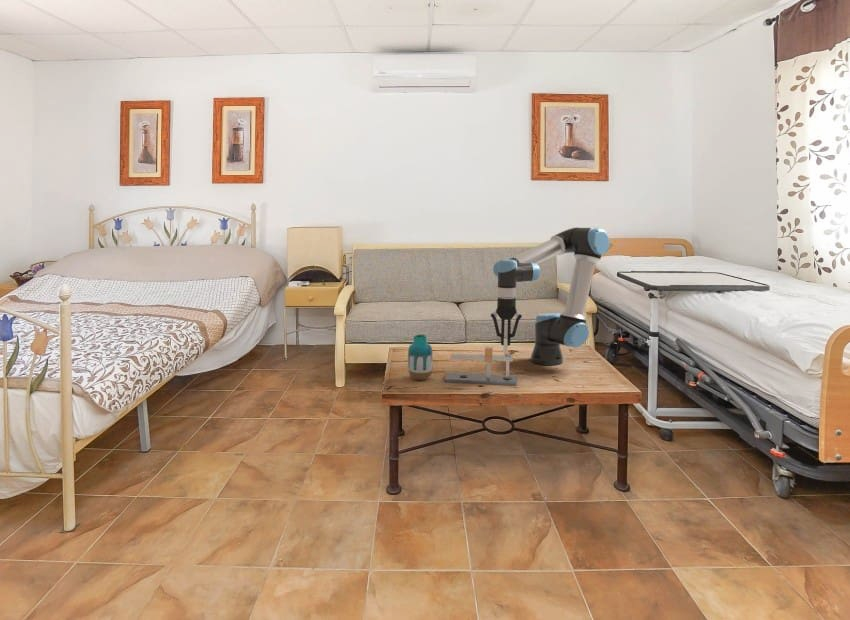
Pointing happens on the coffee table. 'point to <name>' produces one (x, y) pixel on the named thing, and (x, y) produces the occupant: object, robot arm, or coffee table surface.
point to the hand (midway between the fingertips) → (505, 352)
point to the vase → (420, 358)
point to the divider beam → (505, 357)
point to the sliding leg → (488, 358)
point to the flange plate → (481, 378)
